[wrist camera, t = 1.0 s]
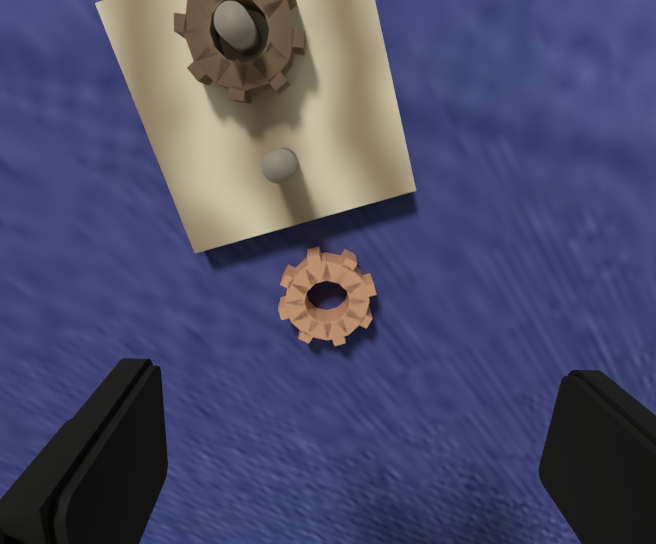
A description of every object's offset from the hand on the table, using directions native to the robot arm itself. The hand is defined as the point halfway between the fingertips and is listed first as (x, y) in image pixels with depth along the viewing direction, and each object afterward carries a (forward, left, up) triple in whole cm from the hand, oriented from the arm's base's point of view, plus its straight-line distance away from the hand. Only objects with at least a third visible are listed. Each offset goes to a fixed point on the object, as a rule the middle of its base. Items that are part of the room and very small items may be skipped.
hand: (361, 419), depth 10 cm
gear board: (+2, -9, -23) cm, 24 cm away
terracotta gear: (+2, +5, -23) cm, 23 cm away
